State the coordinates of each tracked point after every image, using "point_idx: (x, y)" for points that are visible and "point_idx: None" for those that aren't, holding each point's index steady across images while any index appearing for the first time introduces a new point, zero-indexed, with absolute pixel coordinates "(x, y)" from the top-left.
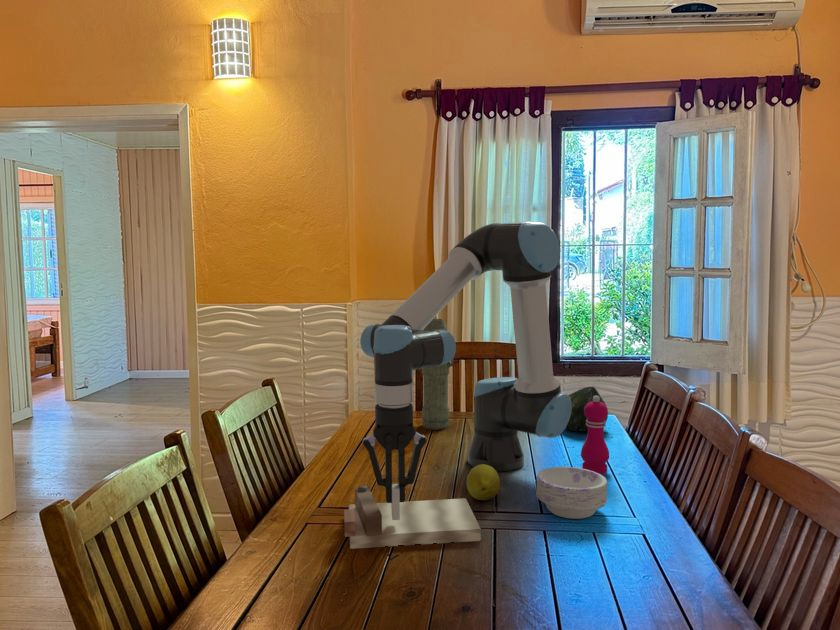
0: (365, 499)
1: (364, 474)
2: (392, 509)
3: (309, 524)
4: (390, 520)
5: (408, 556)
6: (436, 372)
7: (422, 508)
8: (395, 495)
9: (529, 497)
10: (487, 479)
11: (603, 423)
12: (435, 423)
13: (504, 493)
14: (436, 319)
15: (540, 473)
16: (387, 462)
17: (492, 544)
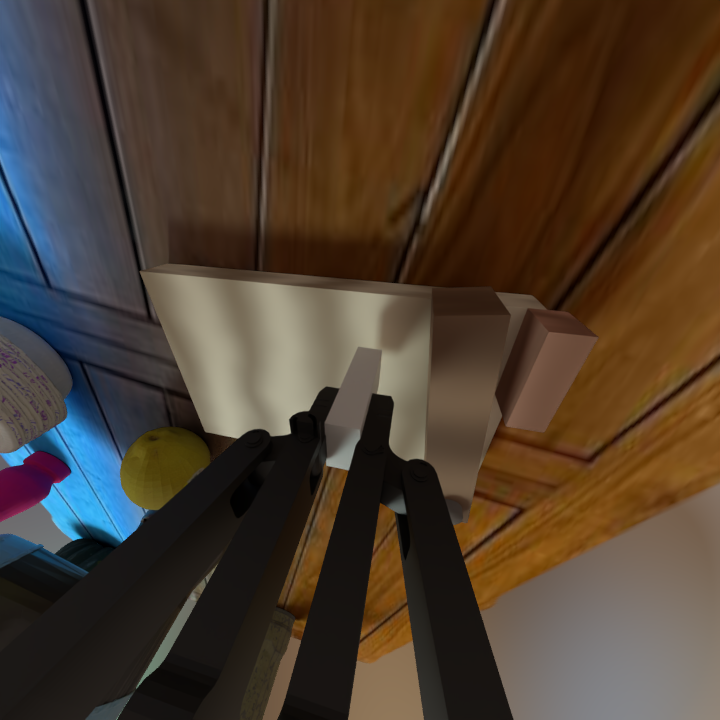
0: (458, 455)
1: (395, 565)
2: (375, 370)
3: (585, 453)
4: (383, 382)
5: (360, 201)
6: None
7: None
8: (351, 403)
9: (119, 421)
10: (132, 458)
11: None
12: (275, 619)
13: None
14: None
15: (3, 434)
16: (346, 621)
17: (137, 236)
